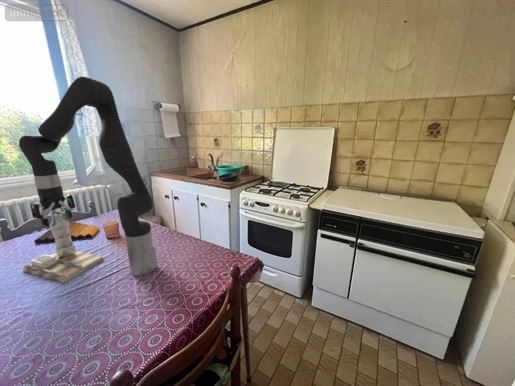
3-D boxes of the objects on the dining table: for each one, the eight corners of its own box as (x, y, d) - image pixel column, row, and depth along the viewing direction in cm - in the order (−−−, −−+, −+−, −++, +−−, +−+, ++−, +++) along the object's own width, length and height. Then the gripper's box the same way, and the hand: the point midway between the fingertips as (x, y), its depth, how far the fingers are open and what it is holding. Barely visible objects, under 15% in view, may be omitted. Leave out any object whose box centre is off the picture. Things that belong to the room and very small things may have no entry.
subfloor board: (103, 259, 98) (102, 254, 97) (64, 282, 83) (62, 276, 83) (65, 251, 104) (64, 246, 104) (23, 270, 90) (21, 265, 89)
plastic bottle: (59, 261, 94) (48, 217, 88) (55, 255, 98) (44, 213, 92) (78, 254, 99) (68, 213, 93) (73, 249, 103) (64, 209, 97)
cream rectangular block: (56, 262, 93) (54, 256, 92) (42, 269, 88) (40, 262, 87) (46, 260, 94) (44, 253, 93) (32, 266, 90) (30, 259, 89)
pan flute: (61, 224, 133) (34, 244, 110) (60, 219, 132) (33, 238, 109) (108, 220, 140) (93, 238, 117) (107, 215, 139) (91, 233, 116)
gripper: (61, 181, 97) (69, 215, 101) (20, 189, 84) (31, 227, 88) (74, 182, 95) (81, 217, 99) (34, 190, 82) (44, 230, 86)
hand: (58, 222), depth 94 cm, fingers open, 8 cm apart
